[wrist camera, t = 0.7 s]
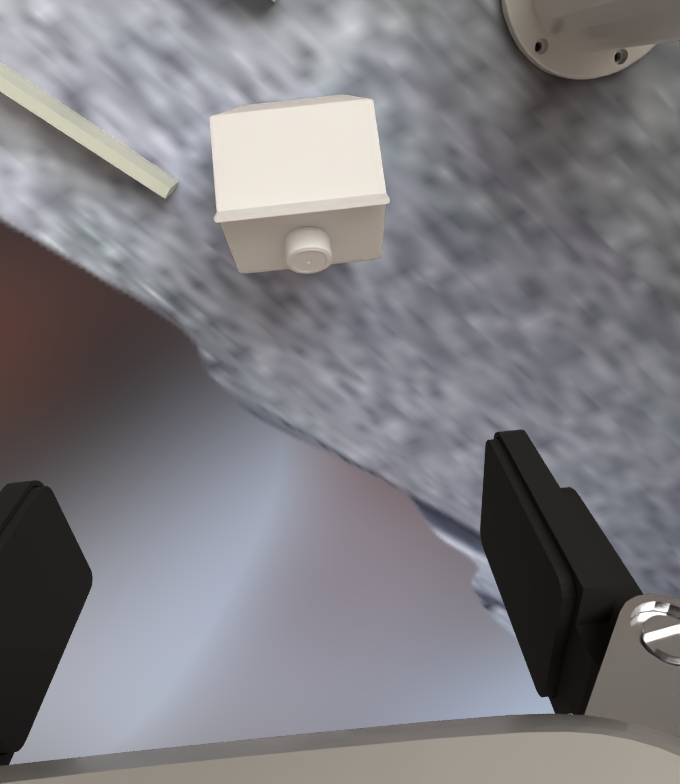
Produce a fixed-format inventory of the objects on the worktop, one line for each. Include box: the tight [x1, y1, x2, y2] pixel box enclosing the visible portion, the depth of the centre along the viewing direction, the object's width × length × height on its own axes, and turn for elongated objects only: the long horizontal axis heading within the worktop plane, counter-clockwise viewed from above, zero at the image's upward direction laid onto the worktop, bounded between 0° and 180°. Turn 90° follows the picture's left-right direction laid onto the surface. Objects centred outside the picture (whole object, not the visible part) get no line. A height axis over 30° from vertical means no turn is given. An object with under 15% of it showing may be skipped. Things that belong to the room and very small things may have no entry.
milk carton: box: [210, 95, 390, 274], centre depth 29 cm, size 7×7×19 cm
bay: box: [0, 0, 276, 198], centre depth 31 cm, size 14×16×3 cm
